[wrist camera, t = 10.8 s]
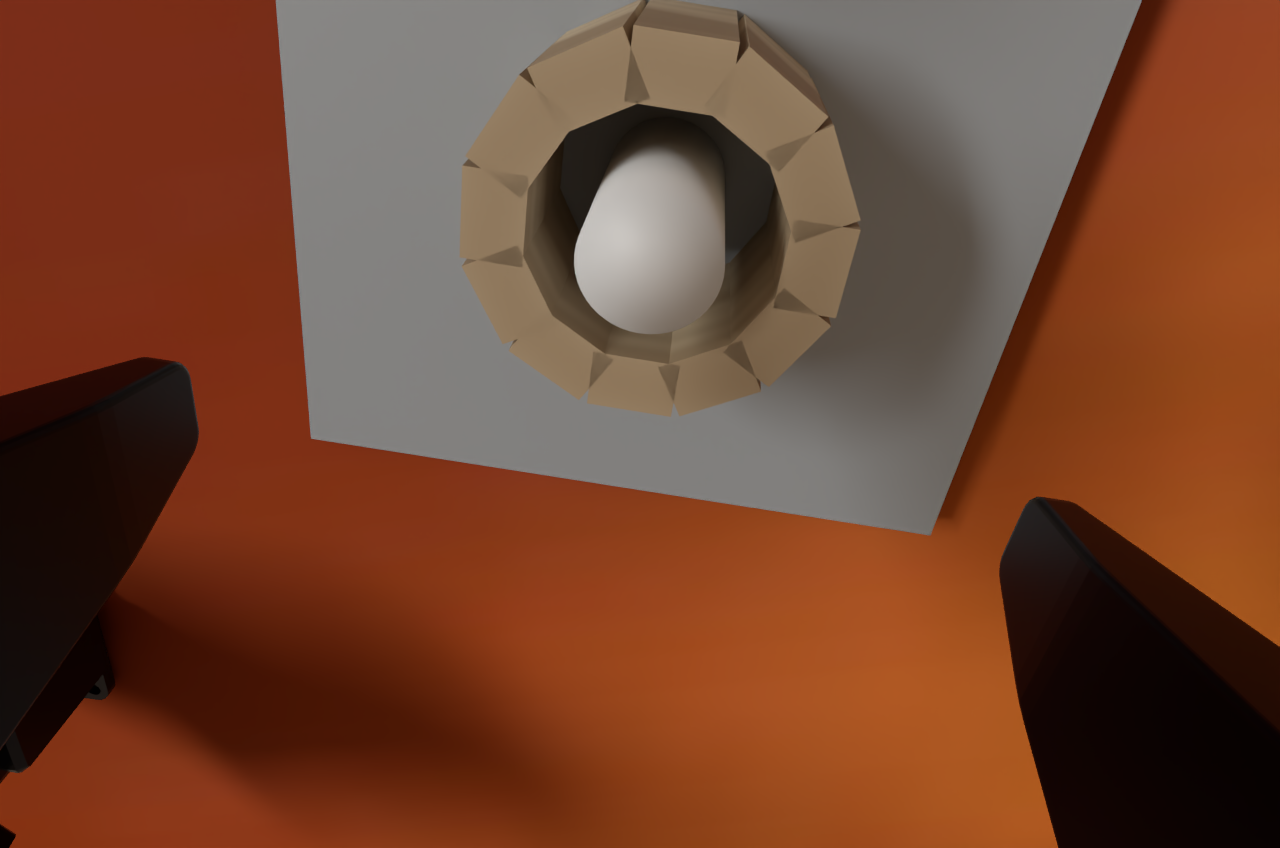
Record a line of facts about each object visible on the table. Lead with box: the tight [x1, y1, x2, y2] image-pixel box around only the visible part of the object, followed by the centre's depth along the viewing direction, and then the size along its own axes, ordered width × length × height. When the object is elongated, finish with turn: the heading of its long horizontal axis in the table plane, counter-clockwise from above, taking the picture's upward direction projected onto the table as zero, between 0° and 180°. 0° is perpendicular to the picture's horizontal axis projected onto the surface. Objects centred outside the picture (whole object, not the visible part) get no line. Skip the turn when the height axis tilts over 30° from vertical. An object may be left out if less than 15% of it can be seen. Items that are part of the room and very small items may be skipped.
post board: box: [276, 0, 1142, 535], centre depth 16 cm, size 16×16×6 cm
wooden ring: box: [459, 0, 861, 417], centre depth 16 cm, size 7×7×4 cm
